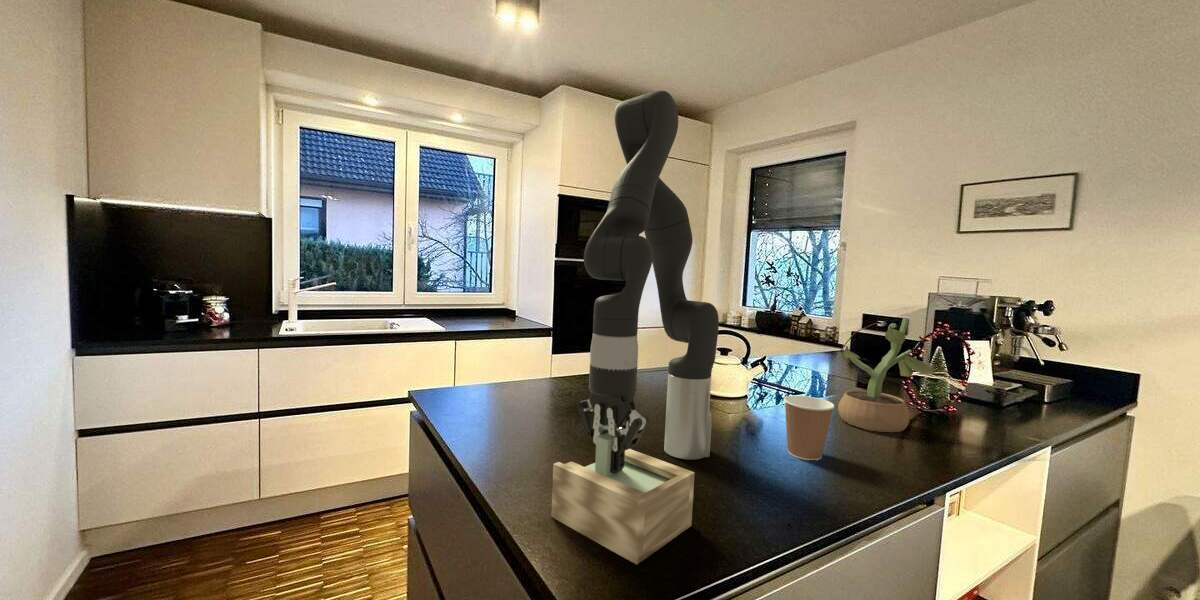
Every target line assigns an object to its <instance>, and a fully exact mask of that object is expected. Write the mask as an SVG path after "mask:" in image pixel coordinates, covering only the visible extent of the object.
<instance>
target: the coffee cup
mask: <svg viewBox="0 0 1200 600" xmlns="http://www.w3.org/2000/svg"><path fill="white" fill-rule="evenodd" d="M783 402H784V405H785V406H784V407H785V425H786V428H785V429H786V444H787V445H786V446H787V451H788V454H789V455H791V457H794V458H797V459H800V460H803V461H809V460H816V461H819V459H820V460H821V459H822V457H823V454H824V452H825V448H826V443H827V438H828V432H829V428H830V424H831V419H832V414H833V409H834V408H835V404H834V403H833V402H831V401H828V400H826V399H824V398H823V399H822V398H819V397H813V396H806V395H787V396H785V397H784V398H783Z"/></svg>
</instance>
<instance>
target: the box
mask: <svg viewBox="0 0 1200 600" xmlns="http://www.w3.org/2000/svg"><path fill="white" fill-rule="evenodd" d="M624 461H625V462H627V463H630V464H633V465H635V466H638V467H640V468H643V469H645V470H648V471H651V472H653V473H656V474H658V475H661V476H663V477H666V478H669V479H670V480H668V481H667V482H665V483H663V484H661V485H659V486H657V487H656V488H654V489H652V490H650V491H648V492H646V493H644V492H641V491H639V490H637V489H634V488H632V487H630V486H628V485H625V484H623V483H621V482H618V481H616V480H614V479H611V478H609V477H607V476H604V475H602V474H600V473H597V472H595V471H593V470H590V469H588V468H586V466H583V465H581V464H579V463H576V462H574V461H569V462H566V463H562V462H560V461H557V462H555V463H553V464H552V491H551V492H552V493H551V516H550V517H551V518H553V520H557V521H558V522H560V523H562V524H563V525H565V526H567V527H569V528H571V529H572V530H574V531H576V532H577V533H579V534H581V535H582V536H584V537H587V538H588V539H590V540H591V541H593V542H595V543H597V544H599V545H601V546H602V547H604V548H606V549H607V550H609V551H611V552H613V553H615V554H617V555H618V556H620V557H622V558H623V559H626V560H627V561H629V562H631V563H633V564H635V565H639V564H640V563H642V562H643V561H645V560H646V559H648V558H649V557H650V556H651V555H653V554H654V553H656V552H657V551H658V550H659V549H661V548H663V547H664V546H666V545H667V544H668V543H670V542H671V541H673V539H675V538H677V537H678V536H680V535H681V534H682V533H684V532H685V531H686V530H688V529H690V527H692V524H693V522H692V521H693V505H694V504H693V503H694V491H695V490H694V489H695V488H694V487H695V475H696V472H694V471H692V470H689V469H686V468H683V467H681V466H678V465H675V464H672V463H670V462H667V461H664V460H661V459H658V458H656V457H653V456H650V455H648V454H645V453H642V452H640V451H636V450H634V449H633V448H630V449H628V450H625V460H624Z"/></svg>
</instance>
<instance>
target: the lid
mask: <svg viewBox="0 0 1200 600" xmlns="http://www.w3.org/2000/svg"><path fill="white" fill-rule="evenodd" d="M611 450H612V446H611V436H610V435H609V432H608V433H605V434H602V435H599V436H597V437H596V459H595V458H594V461H595V462H593V463H590V464H589V465H586V466H585V467H586V468H588V469H590V470H593V471H595V472H597V473H600V474H602V475H604V476H607V477H609V478H611V479H614V480H616V481H618V482H621V483H623V484H625V485H628V486H630V487H632V488H634V489H637V490H639V491H641V492H644V493H646V492H648V491H650V490H652V489H654V488H656V487H657V486H659V485H661V484H663V483H665V482H667V481H668V480H670V479H669V478H666V477H663V476H661V475H658V474H656V473H653V472H651V471H648V470H645V469H643V468H640V467H638V466H635V465H633V464H630V463H627V462H625V461H624V468H623V469H622V470H621V471H620V472H618V473H616V474H613V473H611V472H610V466H611Z"/></svg>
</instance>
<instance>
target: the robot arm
mask: <svg viewBox="0 0 1200 600" xmlns="http://www.w3.org/2000/svg"><path fill="white" fill-rule="evenodd" d="M614 125H615V129H616V130H615V131H616V135H617V138H618V142H619V146H620V148H621V151H622V154H623V156H624V160H625V162H626V165H625V167H624V168H623V169H622V170H621V172H620V174H618V176H617V178H616V180H615V182H614V184H613V187H612V190H611V194H610V197H609V201H608V205H607V208H606V209H607V210H606V212H605V214H604V216H603V217H602V219H601V220H600V221H599V223H598V225H597V226H596V228H595V229H594V231H593V233H592V234H591V236H590V237H589V239H588V241H587V242H586V245H585V248H584V253H583V263H584V268H585V270H586V273H587V274H588V275H589V276H590V277H591V278H593V279H596V280H603V281H620V282H621V281H624V282H626V283H625V285H624V288H623V289H622V291H620V292H618V293H615V294H614V293H613V294H607V295H602V296H599V297H597V298H596V299H595V301H594V304H593V305H594V306H593V316H592V317H593V318H592V320H593V321H592V338H591V343H590V352H589V373H588V374H589V375H588V376H589V377H588V378H589V381H588V390H589V392H590V394H589V395H590V396H589V398H587V399H584V400H581V401H578V402H577V404H576V406H577V411H578V414H579V416H580V420H581V423H582V428H583V430H584V434H585V436H586V438H588V439H589V438H590V439H592V442H593V443H594V444H595V446H594V460H595V459H596V437H597V436H599V435H602V434H605V433H608V432H609V435H610V436H611V446H612V450H611V466H610V472H611V473H613V474H616V473H618V472H620V471H621V470H622V469H623V468H624V460H625V450H628V449H633V448H635V447H636V446H637V445H638V443H639V441H640V439H641V438H642V435H643V433H644V431H645V430H646V427H647V426H648V424H649V422H650V419H649V417H648V416H647V415H644V416H642V415H641V414H640V413H639V412H638V411H637V410H636V403H635V401H634V400H635V399H634V398H635V394H636V392H637V385H638V384H637V382H638V381H637V380H638V378H637V377H638V362H639V361H638V358H639V344H638V343H639V342H638V328H639V313H640V305H641V301H642V296H643V292H644V288H645V285H646V283H647V279H648V277H649V273H650V271H651V268H652V269H653V272H654V276H655V283H656V287H657V293H658V294H657V295H658V302H659V308H660V316H661V323H662V327H663V329H664V332H665V334H666V336H667V337H668V338H669V339H671V340H673V341H676V342H680V343H684V344H685V343H686V344H687V350H686V353H685V354H684V355H683V356H679V357H678V356H677V357H674V358H672V359H671V360H670V361H669V362H668V367H667V368H668V371H667V372H668V373H667V374H668V375H667V386H666V387H667V390H666V409H665V422H664V423H665V427H664V440H663V442H664V445H663V446H664V447H663V449H664V452H665V453H666V454H668V456H671V457H674V458H677V459H682V460H701V459H703V458H709V457H710V455H711V454H710V452H711V439H712V438H711V437H712V419H713V414H712V412H711V411H710V405H711V403H710V402H711V400H710V399H711V388H712V386H711V385H712V384H711V383H712V374H713V373H712V372H713V367H714V364H715V361H716V356H717V354H716V353H717V345H718V337H719V327H720V326H719V323H720V320H719V319H720V318H719V313H718V310H717V308H716V306H715V305H714V304H712V303H710V302H706V301H697V300H688V299H687V297H686V296H687V295H686V293H685V287H684V281H683V277H684V270H685V267H686V265H687V263H688V262H687V261H688V260H689V257H690V254H691V250H692V248H693V247H692V246H693V232H692V228H691V223H690V218H689V214H688V211H687V210H688V209H687V207H686V206H685V204H684V203H683V201H682V200H681V198H680V197H678V195H677V194H676V193H675V192H674V191H673V190H672V189H671V188H670V187H669V186H668V184H666V183H665V182H664V180H662V178H660V176H661V174H662V171H663V169H664V166H665V164H666V162H667V160H668V158H669V154H670V153H671V150H672V147H673V144H674V143H675V140H676V137H677V133H678V130H679V112H678V108H677V105H676V101H675V100H674V97H673V96H672V94H670V93H669V91H665V90H656V91H652V92H649V93H645V94H642V95H638V96H635V97H632V98H629V99H626V100H623V101H620V102H618V103H617V105H616V107H615V109H614ZM642 233H644V235H645V237H644V236H642V235H641V234H642Z"/></svg>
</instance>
